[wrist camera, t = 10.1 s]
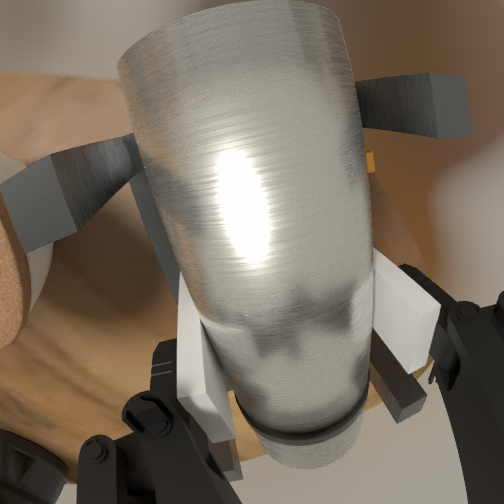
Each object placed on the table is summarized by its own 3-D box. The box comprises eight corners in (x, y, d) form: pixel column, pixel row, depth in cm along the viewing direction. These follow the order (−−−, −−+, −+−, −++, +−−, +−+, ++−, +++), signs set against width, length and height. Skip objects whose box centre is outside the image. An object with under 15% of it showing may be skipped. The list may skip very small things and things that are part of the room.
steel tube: (124, 89, 8) (91, 32, 3) (282, 55, 10) (392, 10, 4) (243, 407, 17) (280, 488, 11) (330, 368, 18) (382, 435, 12)
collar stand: (197, 335, 21) (213, 484, 11) (123, 141, 15) (-2, 185, 4) (345, 288, 22) (435, 401, 11) (319, 92, 15) (483, 80, 5)
